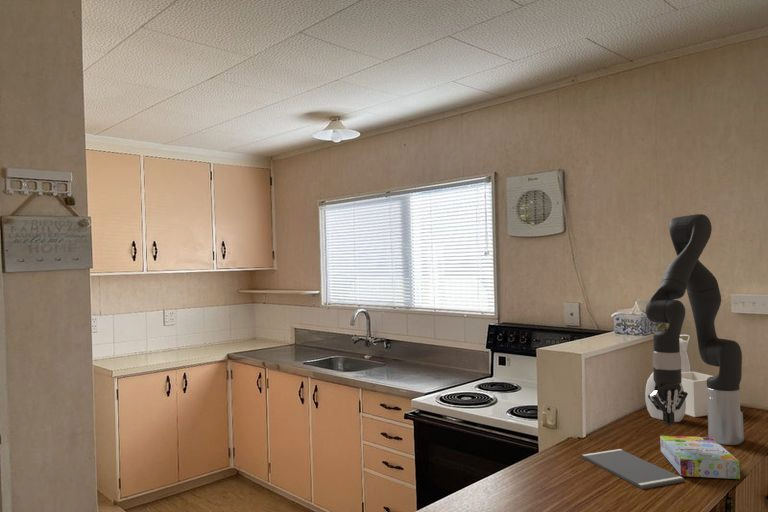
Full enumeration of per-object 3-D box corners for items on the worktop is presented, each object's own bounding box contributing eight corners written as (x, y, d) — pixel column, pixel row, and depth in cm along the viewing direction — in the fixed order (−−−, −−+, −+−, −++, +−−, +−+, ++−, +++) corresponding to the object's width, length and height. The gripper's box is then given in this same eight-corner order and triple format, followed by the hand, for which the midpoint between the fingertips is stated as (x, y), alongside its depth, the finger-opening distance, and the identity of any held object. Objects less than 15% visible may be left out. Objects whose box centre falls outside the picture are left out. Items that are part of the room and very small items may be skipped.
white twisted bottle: (687, 400, 237) (685, 333, 237) (695, 405, 229) (693, 336, 229) (668, 400, 238) (665, 333, 238) (675, 405, 230) (673, 336, 230)
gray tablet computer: (619, 451, 179) (619, 448, 179) (684, 481, 155) (684, 478, 155) (581, 457, 175) (581, 454, 175) (642, 489, 151) (642, 485, 151)
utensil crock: (694, 406, 228) (693, 371, 228) (724, 415, 214) (723, 378, 215) (665, 410, 224) (664, 374, 224) (694, 419, 210) (693, 381, 211)
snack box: (680, 478, 157) (741, 480, 154) (679, 458, 157) (739, 459, 154) (660, 452, 178) (713, 453, 175) (659, 434, 178) (712, 435, 175)
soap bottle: (692, 421, 207) (689, 348, 208) (682, 426, 202) (679, 351, 202) (652, 414, 219) (650, 344, 219) (642, 418, 214) (639, 346, 214)
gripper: (675, 362, 175) (676, 418, 175) (639, 366, 171) (641, 423, 171) (694, 366, 168) (696, 425, 167) (658, 370, 164) (660, 430, 164)
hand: (668, 424), depth 169 cm, fingers closed
